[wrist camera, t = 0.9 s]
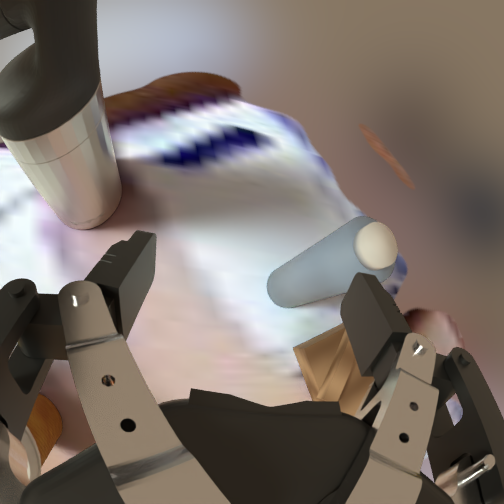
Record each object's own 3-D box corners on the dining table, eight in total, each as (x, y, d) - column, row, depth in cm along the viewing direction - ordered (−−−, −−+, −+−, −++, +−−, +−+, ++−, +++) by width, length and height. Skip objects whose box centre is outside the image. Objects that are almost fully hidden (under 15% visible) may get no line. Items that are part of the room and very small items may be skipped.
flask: (260, 274, 34) (340, 217, 18) (296, 261, 35) (388, 204, 19) (275, 314, 33) (370, 290, 17) (311, 299, 34) (414, 266, 19)
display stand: (286, 344, 32) (309, 345, 26) (377, 298, 37) (406, 291, 32) (324, 446, 29) (350, 461, 24) (404, 390, 35) (433, 393, 29)
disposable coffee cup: (3, 375, 21) (-56, 385, 10) (65, 381, 24) (15, 401, 13) (20, 447, 19) (-26, 479, 7) (84, 456, 21) (51, 504, 10)
